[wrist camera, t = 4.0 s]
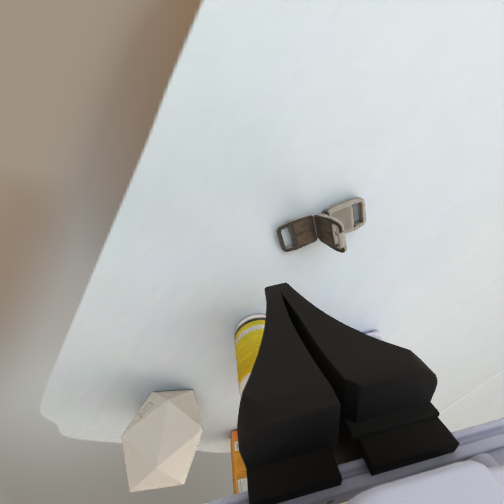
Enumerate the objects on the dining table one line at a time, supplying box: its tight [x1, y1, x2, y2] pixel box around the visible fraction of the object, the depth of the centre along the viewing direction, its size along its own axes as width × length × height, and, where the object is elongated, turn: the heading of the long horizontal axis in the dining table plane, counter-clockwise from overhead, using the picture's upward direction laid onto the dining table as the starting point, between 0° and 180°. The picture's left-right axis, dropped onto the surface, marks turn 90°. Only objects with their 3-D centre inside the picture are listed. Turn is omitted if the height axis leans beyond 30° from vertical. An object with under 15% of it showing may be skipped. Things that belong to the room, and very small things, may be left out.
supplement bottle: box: [235, 314, 266, 396], centre depth 20 cm, size 5×5×10 cm
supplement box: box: [231, 430, 248, 494], centre depth 30 cm, size 3×3×10 cm
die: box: [121, 390, 204, 492], centre depth 24 cm, size 8×9×10 cm
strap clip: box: [277, 197, 366, 253], centre depth 18 cm, size 8×3×4 cm, turn 110°
